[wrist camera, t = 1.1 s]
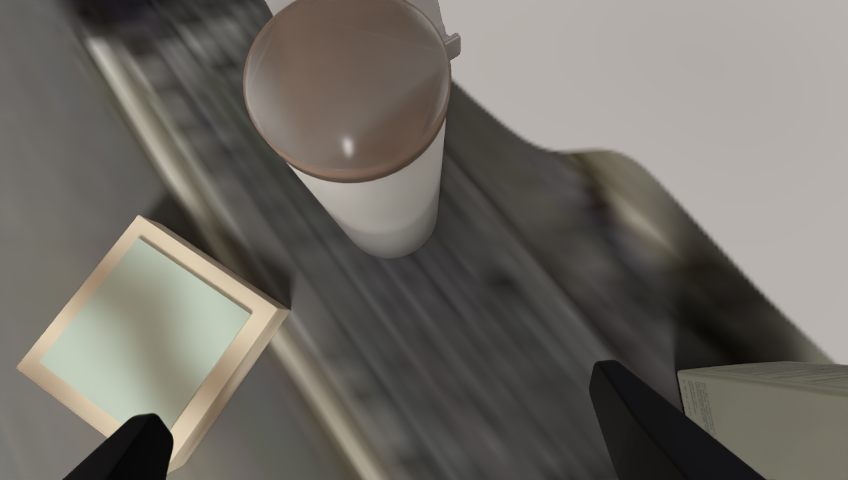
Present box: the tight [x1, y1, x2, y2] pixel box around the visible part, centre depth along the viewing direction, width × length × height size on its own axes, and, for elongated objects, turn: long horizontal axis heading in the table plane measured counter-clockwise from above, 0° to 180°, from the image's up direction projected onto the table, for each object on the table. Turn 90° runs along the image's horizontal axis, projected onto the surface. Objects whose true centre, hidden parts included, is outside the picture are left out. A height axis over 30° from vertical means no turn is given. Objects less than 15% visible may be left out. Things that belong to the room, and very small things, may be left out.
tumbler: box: [243, 0, 451, 259], centre depth 17 cm, size 6×6×13 cm
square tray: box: [16, 215, 291, 474], centre depth 21 cm, size 9×9×2 cm
